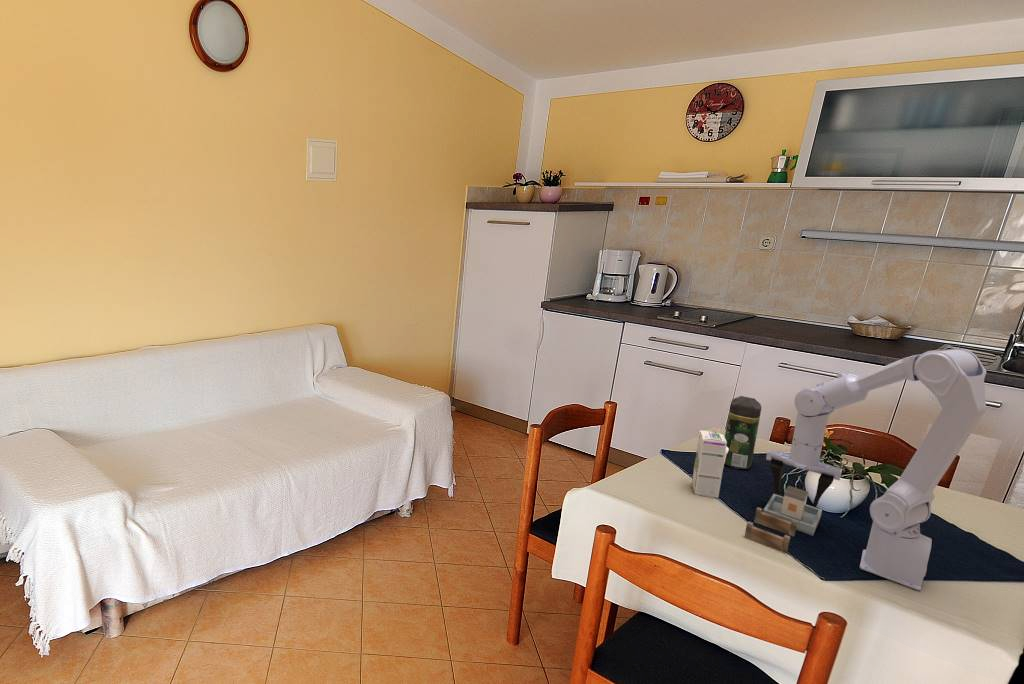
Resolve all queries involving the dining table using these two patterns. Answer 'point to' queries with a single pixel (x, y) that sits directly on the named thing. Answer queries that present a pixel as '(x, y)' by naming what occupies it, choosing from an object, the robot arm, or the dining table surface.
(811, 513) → the tray
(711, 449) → the syrup box
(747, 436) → the coffee jar
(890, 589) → the dining table surface
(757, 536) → the rail holder
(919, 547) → the robot arm
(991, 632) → the dining table surface
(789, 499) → the small beige carton
